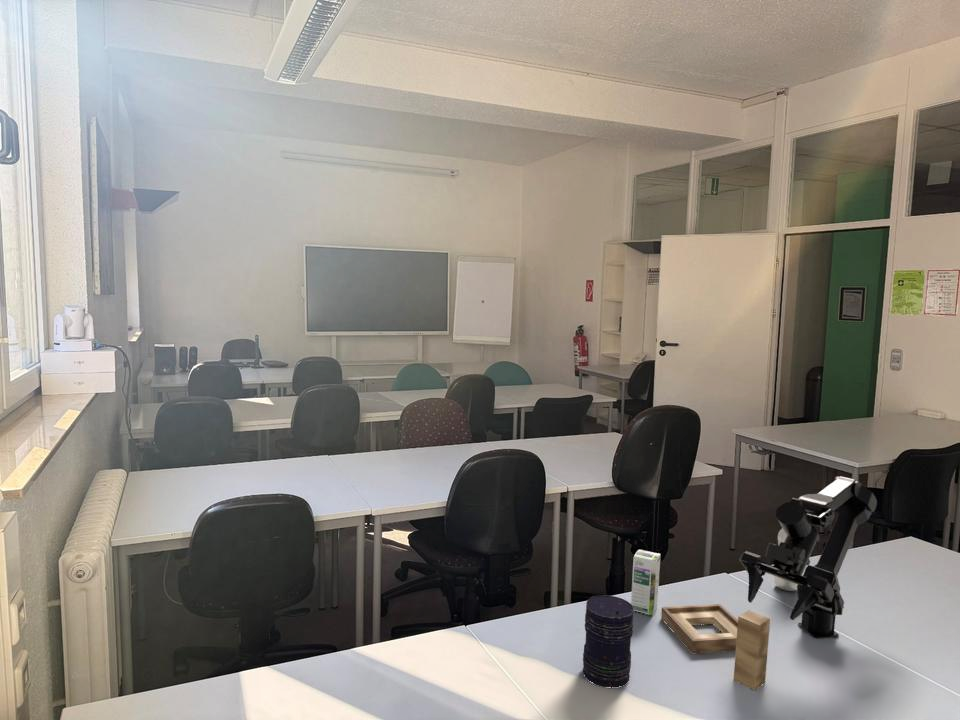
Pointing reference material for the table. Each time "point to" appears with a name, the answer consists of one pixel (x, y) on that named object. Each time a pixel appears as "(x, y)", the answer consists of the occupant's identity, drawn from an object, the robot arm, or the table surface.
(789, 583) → the plastic bottle
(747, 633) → the peg
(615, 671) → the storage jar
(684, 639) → the socket box
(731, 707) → the table surface
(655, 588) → the syrup box
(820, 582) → the robot arm
